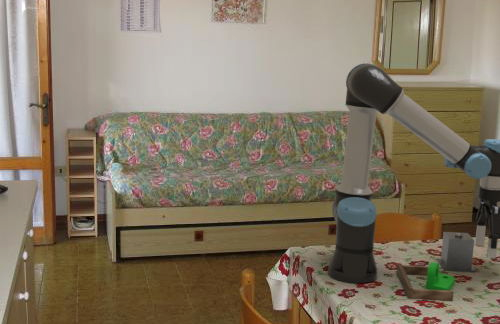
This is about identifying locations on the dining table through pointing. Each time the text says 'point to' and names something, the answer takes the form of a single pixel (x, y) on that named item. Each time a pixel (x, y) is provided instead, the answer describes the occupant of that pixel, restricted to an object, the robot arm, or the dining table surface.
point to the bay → (420, 293)
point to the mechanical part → (438, 279)
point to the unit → (457, 252)
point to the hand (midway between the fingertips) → (485, 251)
